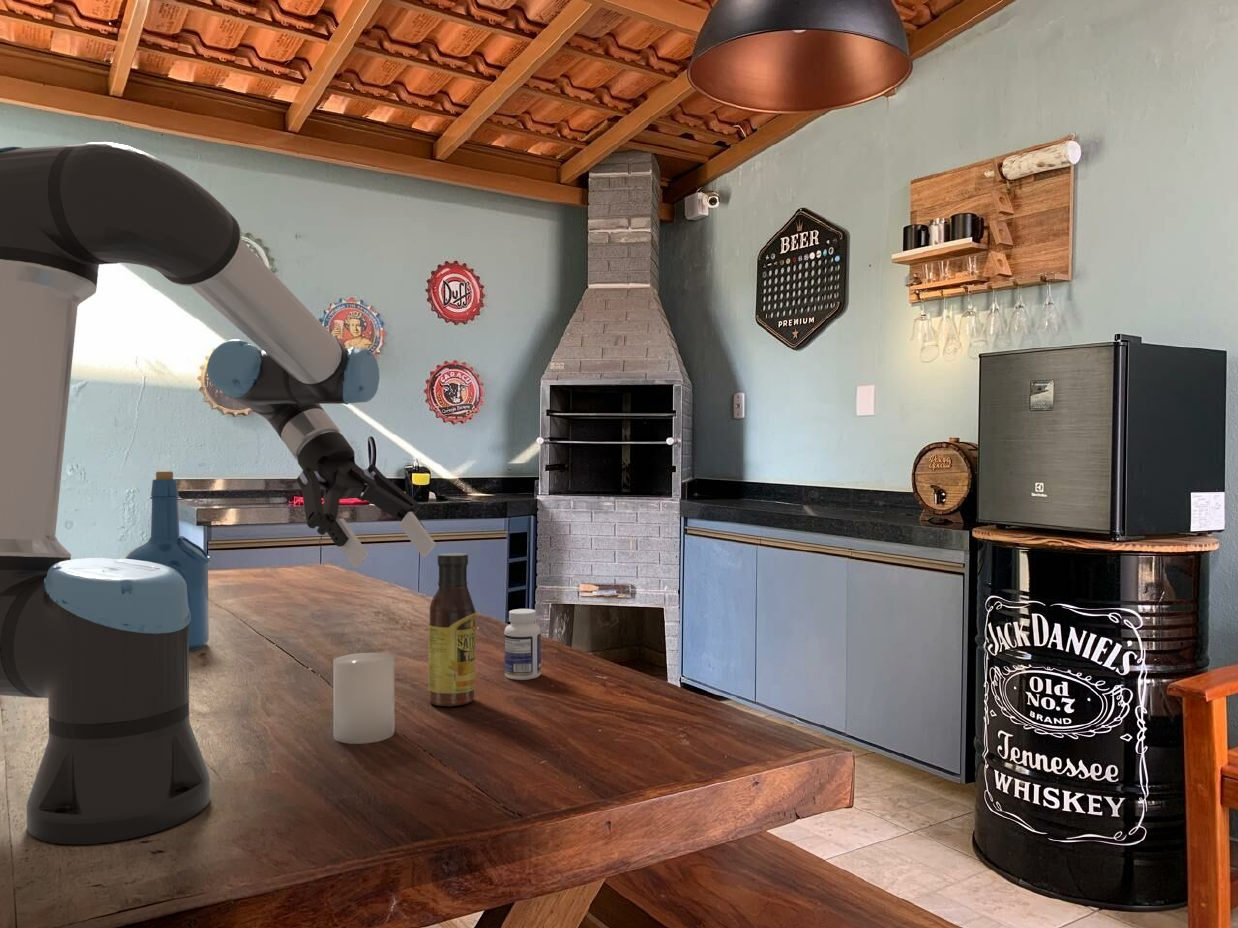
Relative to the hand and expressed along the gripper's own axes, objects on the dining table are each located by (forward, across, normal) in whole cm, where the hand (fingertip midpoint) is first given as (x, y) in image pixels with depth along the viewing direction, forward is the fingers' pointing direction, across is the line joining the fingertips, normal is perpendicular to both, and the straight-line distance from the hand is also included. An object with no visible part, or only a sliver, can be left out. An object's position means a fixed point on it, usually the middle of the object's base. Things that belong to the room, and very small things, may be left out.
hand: (397, 556), depth 130 cm
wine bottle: (-24, -1, -51) cm, 56 cm away
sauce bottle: (+21, 0, -6) cm, 22 cm away
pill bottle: (+21, -16, -6) cm, 27 cm away
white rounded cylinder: (+20, +16, -6) cm, 27 cm away
